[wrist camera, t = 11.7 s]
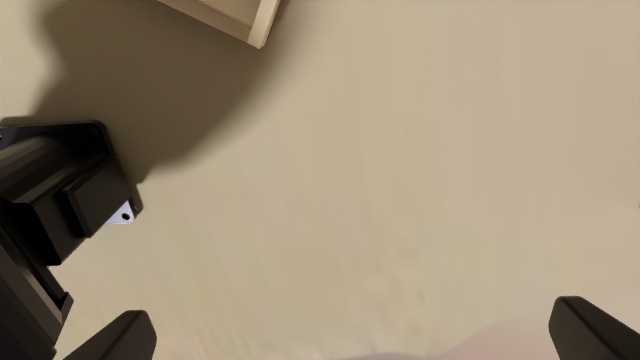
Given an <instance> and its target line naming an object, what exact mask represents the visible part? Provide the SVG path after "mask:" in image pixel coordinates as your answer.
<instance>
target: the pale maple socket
mask: <svg viewBox="0 0 640 360" xmlns="http://www.w3.org/2000/svg"><path fill="white" fill-rule="evenodd" d="M157 1H160V2H162V3H164V4H166V5H168V6H170V7H172V8H174V9H176V10H178V11H181V12H183V13H185V14H187V15H189V16H191V17H193V18H195V19H197V20H200V21H202V22H204V23H206V24H208V25H210V26H212V27H214V28H216V29H218V30H221V31H223V32H225V33H227V34H229V35H231V36H233V37H235V38H237V39H240V40H242V41H244V42H246V43H248V44H250V45H252V46H254V47H256V48H259V49H260V48H261V47H262V46H263V45H265V43H266V40H267V37H268V34H269V32H270V29H271V26H272V24H273V21H274V18H275V15H276V13H277V10H278V7H279V4H280V2H281V0H157Z"/></svg>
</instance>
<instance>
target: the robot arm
mask: <svg viewBox="0 0 640 360" xmlns="http://www.w3.org/2000/svg"><path fill="white" fill-rule="evenodd" d="M92 127H94V128H95V129H96V130H97V132H98V133H96V132H94V130H93V128H92ZM0 135H1V137H2V138H1V137H0V360H53V359H54V357H55V355H56V353H57V351H56V349H55V348H54V347H55V344H56V342H57V340H58V337H59V335H60V333H61V330H62V328H63V325H64V323H65V321H66V318H67V316H68V314H69V311H70V309H71V307H72V304H73V302H74V300H73V298H72V297H71V295H70V294H69V293H68V292H65V291H64V290H63V288H62V287H61V286H60V284H59V283H58V281H57V280H56V279H55V277H54V276H53V274H52V273H51V272H50V270H49V269H48V268H49V267H50V266H58V265H61V264H62V263H63V262H64V261H65V260H66V259H67V258H68V257H69V256H70V255H71V254H72V253H73V252H74V251H75V250H76V249H77V248H78V247H79V245H80V244H81V243H82V242H83V241H84V240H85V239H86V238H91V237H92V236H93V235H94V234H95V233H96V232H97V231H98V230H99V229H100V228H101V227H102V226H103V225H104V224H128V223H132V222H133V221H134V220H135V218H136V217H137V212H136V209H135V207H134V204H133V201H132V198H131V193H130V190H129V188H128V185H127V182H126V179H125V177H124V174H123V171H122V169H121V166H120V163H119V160H118V159H117V157H116V155H115V152H114V149H113V147H112V144H111V141H110V138H109V136H108V133H107V130H106V128H105V126H104V125H103V124H102V123H101V122H99V121H97V120H88V121H72V122H56V123H40V124H25V125H9V126H0ZM125 213H127V214H128V215H129V216H127V215H126V214H125ZM549 333H550V335H551V338H552V341H553V343H554V346H555V348H556V350H557V353H558V355H559V358H560V360H640V334H639V333H637V332H636V331H634V330H633V329H631V328H629V327H628V326H626V325H625V324H623V323H622V322H620V321H618V320H617V319H615V318H614V317H612V316H611V315H609V314H608V313H606V312H604V311H603V310H601V309H599V308H598V307H596V306H595V305H593V304H592V303H590V302H589V301H587V300H585V299H584V298H582V297H580V296H560V297H558V298H557V299H556V300H555V303H554V306H553V310H552V313H551V317H550V320H549ZM156 342H157V336H156V332H155V330H154V327H153V325H152V323H151V320H150V318H149V316H148V314H147V312H146V311H144V310H129V311H126V312H124V313H122V314H121V315H120V316H118V317H117V318H116V319H115V320H113V321H112V322H111V323H109V324H108V325H107V326H106V327H104V328H103V329H102V330H100V331H99V332H98V333H96V334H95V335H94V336H93V337H91V338H90V339H89V340H87V341H86V342H85V343H84V344H82V345H81V346H80V347H78V348H77V349H76V350H75V351H73V352H72V353H71V354H69V355H68V356H67V357H65V358H64V359H63V360H152V357H153V353H154V350H155V347H156Z"/></svg>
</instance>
